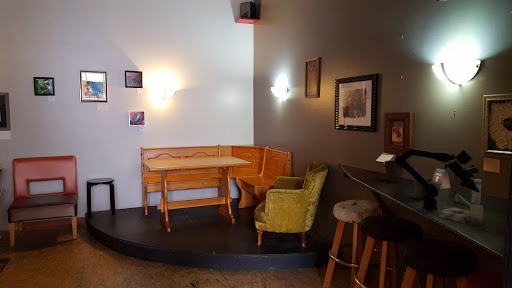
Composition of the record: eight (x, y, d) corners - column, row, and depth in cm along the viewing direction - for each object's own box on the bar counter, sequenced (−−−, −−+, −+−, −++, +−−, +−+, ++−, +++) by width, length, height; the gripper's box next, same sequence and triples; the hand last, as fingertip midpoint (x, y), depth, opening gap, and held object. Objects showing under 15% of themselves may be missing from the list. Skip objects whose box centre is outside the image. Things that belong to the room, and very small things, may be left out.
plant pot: (379, 180, 316) (380, 161, 314) (393, 179, 322) (394, 159, 320) (393, 184, 302) (394, 163, 301) (407, 182, 309) (408, 162, 307)
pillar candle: (431, 200, 253) (432, 177, 252) (415, 199, 255) (416, 176, 254) (428, 197, 263) (429, 174, 261) (412, 196, 264) (413, 174, 263)
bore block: (438, 216, 218) (438, 211, 218) (451, 212, 226) (452, 207, 226) (463, 222, 207) (464, 217, 206) (477, 218, 215) (477, 212, 214)
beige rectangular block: (466, 224, 204) (467, 205, 203) (472, 222, 208) (473, 203, 207) (478, 227, 200) (479, 207, 199) (484, 225, 203) (485, 206, 202)
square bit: (471, 203, 220) (472, 180, 219) (471, 201, 223) (473, 178, 222) (479, 204, 218) (481, 180, 216) (480, 202, 221) (481, 179, 220)
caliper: (454, 202, 250) (455, 192, 250) (456, 201, 251) (456, 192, 250) (475, 210, 230) (476, 200, 230) (477, 210, 230) (478, 200, 230)
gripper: (468, 163, 212) (490, 185, 208) (471, 158, 228) (492, 179, 223) (451, 176, 218) (473, 198, 213) (455, 170, 233) (476, 191, 228)
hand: (479, 191), depth 219 cm, fingers closed on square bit, 4 cm apart
